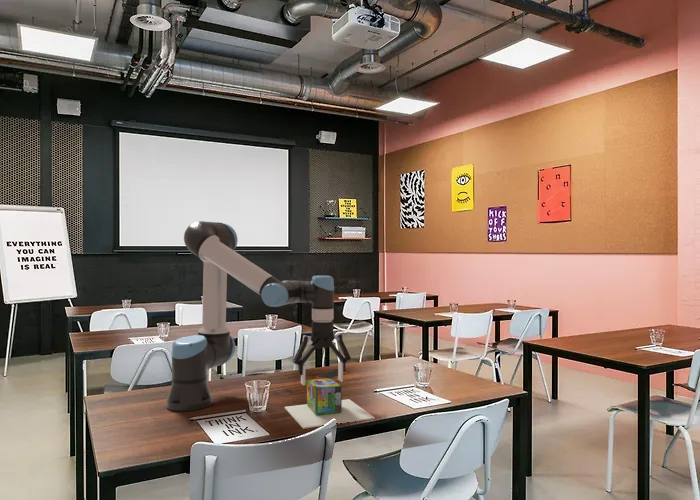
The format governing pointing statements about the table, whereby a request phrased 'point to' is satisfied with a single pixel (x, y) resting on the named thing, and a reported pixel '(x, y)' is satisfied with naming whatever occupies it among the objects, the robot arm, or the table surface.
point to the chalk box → (324, 396)
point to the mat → (328, 415)
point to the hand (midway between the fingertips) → (322, 382)
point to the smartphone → (331, 374)
